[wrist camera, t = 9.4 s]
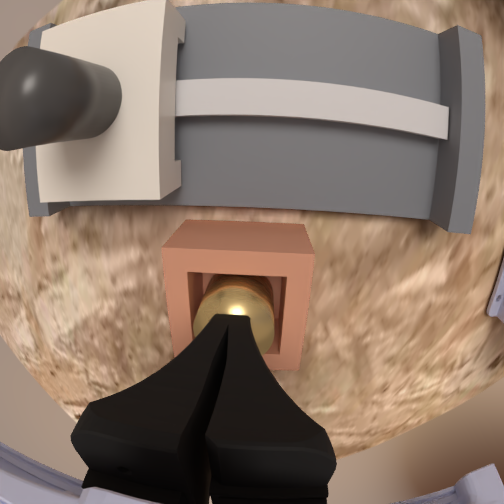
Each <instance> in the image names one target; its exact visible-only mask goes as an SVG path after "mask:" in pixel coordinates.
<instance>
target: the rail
mask: <svg viewBox="0 0 504 504" xmlns="http://www.w3.org/2000/svg"><path fill="white" fill-rule="evenodd" d="M175 8H176V10H177V11H178V12H179V13H180V14H181V16H182V17H183V18H184V19H185V21H186V24H185V37H184V43H179V44H178V47H177V65H176V88H175V160H181V186H180V187H179V188H177V189H176V190H174V191H173V192H171V193H169V194H168V195H166V196H165V197H163V198H162V199H160V200H94V201H64V202H42V203H40V196H39V187H38V176H37V162H36V146H32V147H27V148H23V157H24V172H25V183H26V193H27V201H28V209H29V216H30V217H33V216H51V215H53V214H55V213H57V212H59V211H61V210H63V209H65V208H67V207H69V206H94V205H190V206H231V207H259V208H281V209H300V210H317V211H333V212H347V213H361V214H373V215H385V216H397V217H407V218H418V219H428V220H430V221H432V222H433V223H435V224H437V225H438V226H440V227H441V228H443V229H444V230H446V231H447V232H454V233H464V234H471V230H472V225H473V220H474V215H475V209H476V204H477V198H478V191H479V184H480V177H481V168H482V158H483V147H484V131H485V73H484V58H483V47H482V38H481V35H479V34H476V33H474V32H472V31H470V30H468V29H465V28H463V27H461V26H458V25H457V26H455V27H453V28H450V29H448V30H446V31H444V32H442V33H440V34H436V33H433V32H430V31H427V30H424V29H421V28H417V27H414V26H411V25H407V24H404V23H400V22H396V21H393V20H389V19H384V18H380V17H376V16H371V15H367V14H362V13H356V12H351V11H345V10H339V9H332V8H325V7H316V6H307V5H296V4H281V3H219V4H204V5H192V6H183V7H175ZM55 26H57V25H55V24H52V23H50V24H47V25H45V26H42V27H40V28H38V29H35V30H33V31H31V32H30V35H29V42H28V46H30V47H34V48H39V49H40V44H41V37H42V31H45V30H47V29H50V28H52V27H55Z"/></svg>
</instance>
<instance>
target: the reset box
mask: <svg viewBox="0 0 504 504" xmlns="http://www.w3.org/2000/svg"><path fill="white" fill-rule="evenodd" d="M162 258H163V269H164V280H165V289H166V298H167V307H168V315H169V323H170V330H171V337H172V344H173V351H174V357H176V356H177V355H178V354H179V353H180V352H182V351H183V350H184V349H185V348H186V347H187V346H188V345H189V344H190V343H191V342H192V341H193V340H194V338H195V336H194V331H193V325H194V320H195V317H196V315H197V312H198V309H199V307H200V304H201V301H202V299H203V296H204V293H205V291H206V288H207V285H208V283H209V281H210V279H211V278H212V276H213V275H214V274H215V273H218V274H238V275H259V276H265V277H266V278H267V279H268V280H269V282H270V284H271V286H272V289H273V296H274V340H273V343H272V345H271V347H270V348H269V350H268V351H267V352H266V353H265V354H264V355H262V357H263V359H264V361H265V363H266V365H267V366H268V368H269V370H299V366H300V360H301V354H302V348H303V341H304V335H305V328H306V321H307V314H308V306H309V299H310V291H311V283H312V275H313V267H314V258H315V253H314V250H313V248H312V245H311V242H310V240H309V237H308V234H307V231H306V229H305V226H304V224H286V223H265V222H240V221H211V220H185V221H184V223H183V224H182V225H181V226H180V227H179V228H178V229H177V230H176V232H175V233H174V234H173V235H172V236H171V237H170V238H169V240H168V241H167V242H166V243H165V244H164V245H163V246H162Z"/></svg>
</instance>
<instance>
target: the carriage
mask: <svg viewBox="0 0 504 504" xmlns="http://www.w3.org/2000/svg"><path fill="white" fill-rule="evenodd" d="M185 24H186V21H185V19H184V18H183V17H182V16H181V14H180V13H179V12H178V11H177V10H176V8H175V7H174V6H173V5H172V4H171V2H170V1H169V0H147V1H142V2H137V3H132V4H128V5H123V6H119V7H115V8H111V9H107V10H104V11H100V12H97V13H93V14H90V15H87V16H84V17H80V18H77V19H74V20H71V21H69V22H66V23H63V24H60V25H58V26H55V27H52V28H50V29H47V30H45V31H42V37H41V44H40V49H39V48H34V47H30V46H24V47H20V48H17V49H15V50H13V51H12V52H10V53H9V54H8V55H6V56H5V57H4V58H3V59H2V61H1V62H0V149H1V150H4V151H10V150H16V149H21V148H27V147H32V146H36V162H37V176H38V187H39V196H40V203H42V202H64V201H94V200H160V199H162V198H163V197H165V196H166V195H168V194H169V193H171V192H173V191H174V190H176V189H177V188H179V187H180V186H181V160H175V88H176V65H177V47H178V44H179V43H184V37H185Z"/></svg>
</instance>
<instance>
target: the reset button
mask: <svg viewBox="0 0 504 504" xmlns="http://www.w3.org/2000/svg"><path fill="white" fill-rule="evenodd" d="M215 314H230V315H248V316H249V317H250V318H251V319H250V322H251V328H252V332H253V335H254V338H255V341H256V344H257V346H258V348H259V351H260V353H261V355H264V354H265V353H266V352H267V351H268V350H269V348H270V347H271V345H272V343H273V340H274V296H273V289H272V286H271V284H270V282H269V280H268V279H267V278H266V277H265V276H259V275H238V274H218V273H215V274H214V275H213V276H212V278H211V279H210V281H209V283H208V285H207V288H206V291H205V293H204V296H203V299H202V301H201V304H200V307H199V309H198V312H197V315H196V317H195V320H194V325H193V331H194V336H195V337H196V336H197V335H198V334H199V333H200V332H201V331H202V329H203V328H204V327H205V326H206V325H207V323H208V322H209V321H210V319H211V318H212V317H213V316H214V315H215Z"/></svg>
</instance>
